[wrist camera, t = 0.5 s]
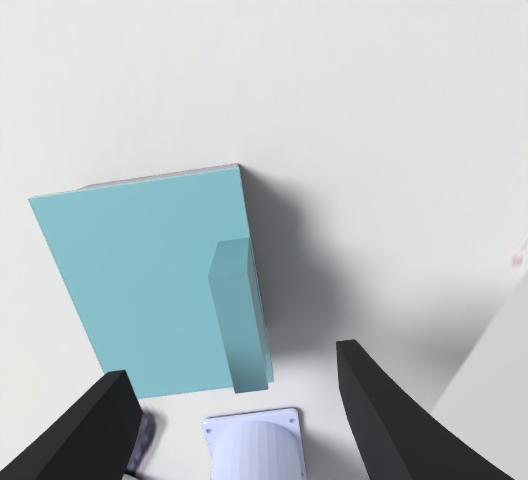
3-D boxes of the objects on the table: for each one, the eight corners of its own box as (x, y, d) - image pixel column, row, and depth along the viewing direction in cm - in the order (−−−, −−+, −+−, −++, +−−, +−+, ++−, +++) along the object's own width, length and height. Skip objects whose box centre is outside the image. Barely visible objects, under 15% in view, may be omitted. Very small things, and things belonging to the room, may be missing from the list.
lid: (272, 361, 19) (278, 439, 15) (126, 380, 20) (85, 462, 15) (240, 163, 15) (232, 183, 10) (50, 191, 15) (-45, 223, 10)
